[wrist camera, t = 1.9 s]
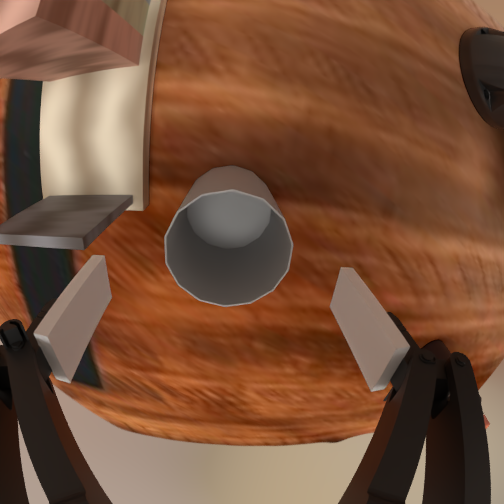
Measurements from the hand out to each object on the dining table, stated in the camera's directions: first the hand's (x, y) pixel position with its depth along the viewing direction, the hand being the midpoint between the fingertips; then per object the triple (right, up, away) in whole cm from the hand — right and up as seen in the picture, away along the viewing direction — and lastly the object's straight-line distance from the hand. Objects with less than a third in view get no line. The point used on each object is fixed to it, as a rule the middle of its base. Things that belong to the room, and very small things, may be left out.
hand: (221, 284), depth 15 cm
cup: (-1, +6, +12) cm, 14 cm away
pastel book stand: (-13, +17, +5) cm, 23 cm away
